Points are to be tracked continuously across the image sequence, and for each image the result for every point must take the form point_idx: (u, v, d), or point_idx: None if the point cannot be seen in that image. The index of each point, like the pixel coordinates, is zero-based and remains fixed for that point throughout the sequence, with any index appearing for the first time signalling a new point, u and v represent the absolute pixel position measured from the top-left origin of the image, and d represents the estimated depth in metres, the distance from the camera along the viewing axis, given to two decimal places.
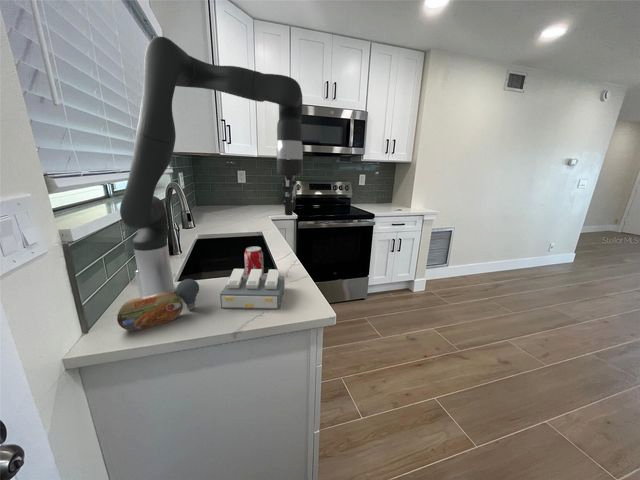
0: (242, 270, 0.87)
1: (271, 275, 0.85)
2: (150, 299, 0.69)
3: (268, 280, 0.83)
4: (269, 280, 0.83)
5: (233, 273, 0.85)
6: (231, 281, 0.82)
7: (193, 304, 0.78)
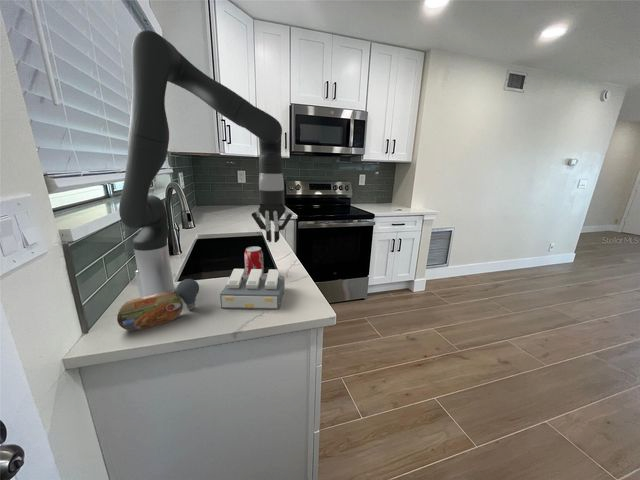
0: (242, 270, 0.87)
1: (271, 275, 0.85)
2: (150, 299, 0.69)
3: (268, 280, 0.83)
4: (269, 280, 0.83)
5: (233, 273, 0.85)
6: (231, 281, 0.82)
7: (193, 304, 0.78)
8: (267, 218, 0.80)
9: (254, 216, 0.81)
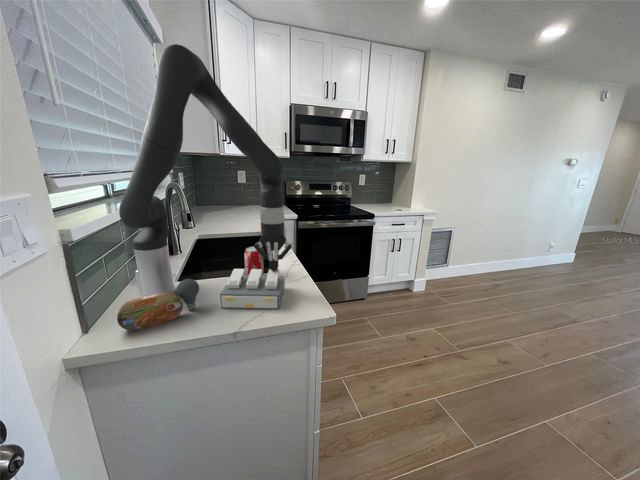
0: (242, 270, 0.87)
1: (271, 275, 0.85)
2: (150, 299, 0.69)
3: (268, 280, 0.83)
4: (269, 280, 0.83)
5: (233, 273, 0.85)
6: (231, 281, 0.82)
7: (193, 304, 0.78)
8: (269, 249, 0.83)
9: (256, 247, 0.84)
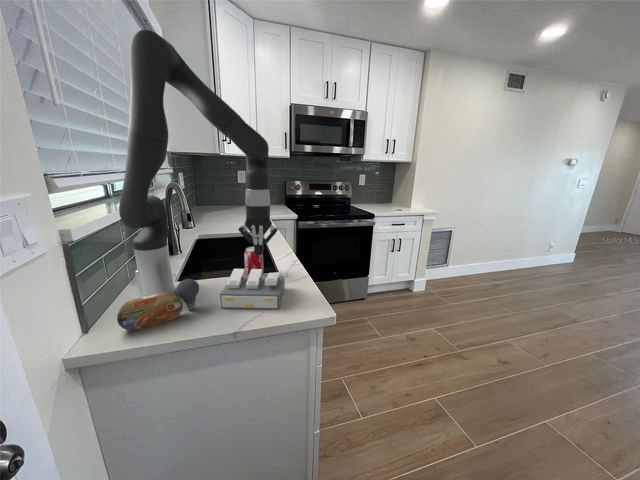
0: (242, 270, 0.87)
1: (271, 275, 0.85)
2: (150, 299, 0.69)
3: (268, 278, 0.83)
4: (269, 278, 0.83)
5: (233, 273, 0.85)
6: (231, 281, 0.82)
7: (193, 304, 0.78)
8: (254, 232, 0.82)
9: (241, 230, 0.82)
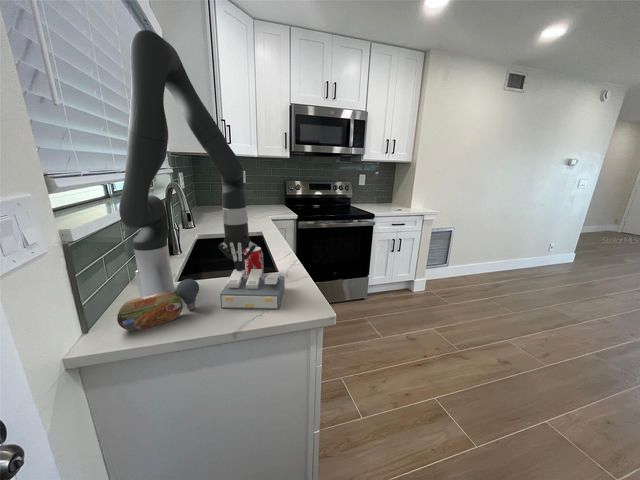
0: (242, 271, 0.87)
1: (271, 276, 0.85)
2: (150, 299, 0.69)
3: (268, 277, 0.83)
4: (269, 277, 0.83)
5: (233, 273, 0.86)
6: (231, 280, 0.82)
7: (193, 304, 0.78)
8: (233, 249, 0.84)
9: (221, 248, 0.84)
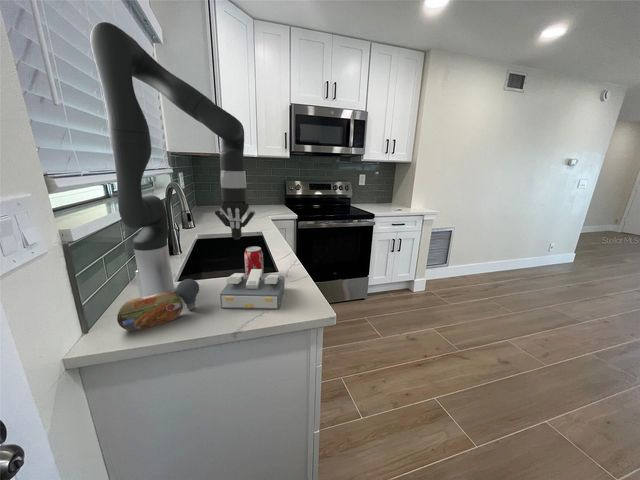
0: (243, 273, 0.88)
1: (271, 276, 0.86)
2: (150, 299, 0.69)
3: (268, 277, 0.83)
4: (269, 277, 0.83)
5: (234, 274, 0.86)
6: (231, 277, 0.82)
7: (193, 304, 0.78)
8: (230, 215, 0.81)
9: (218, 214, 0.81)
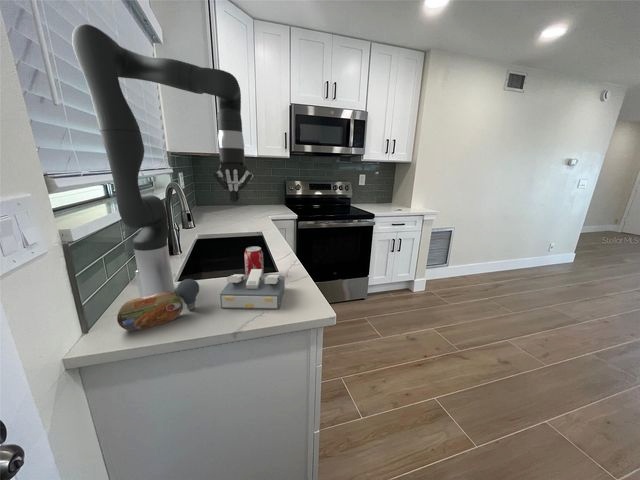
0: (243, 274, 0.88)
1: (271, 276, 0.86)
2: (150, 299, 0.69)
3: (268, 277, 0.83)
4: (269, 277, 0.83)
5: (234, 275, 0.86)
6: (231, 276, 0.82)
7: (193, 304, 0.78)
8: (228, 177, 0.81)
9: (216, 176, 0.82)
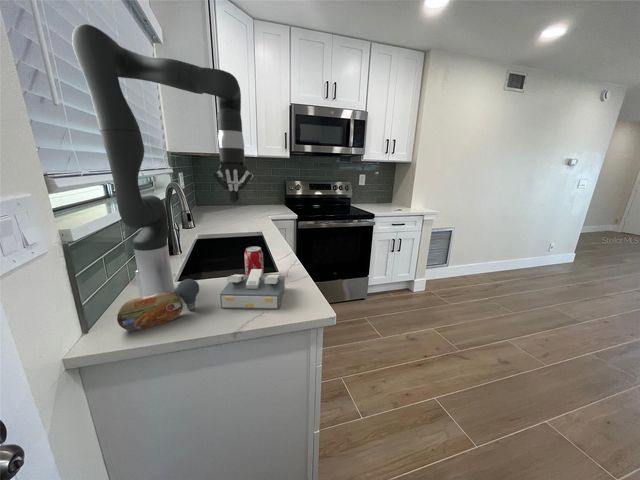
0: None
1: (271, 276, 0.86)
2: (150, 299, 0.69)
3: (268, 277, 0.83)
4: (269, 277, 0.83)
5: (234, 275, 0.86)
6: (231, 276, 0.82)
7: (193, 304, 0.78)
8: (228, 177, 0.81)
9: (216, 176, 0.82)
